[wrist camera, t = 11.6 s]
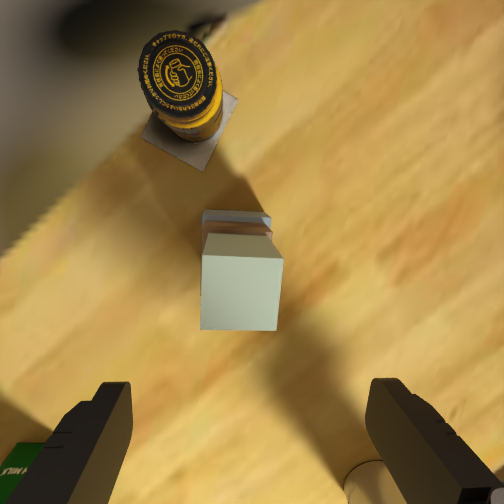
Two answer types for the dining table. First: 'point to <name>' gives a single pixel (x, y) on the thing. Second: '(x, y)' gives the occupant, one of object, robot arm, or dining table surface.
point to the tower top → (233, 230)
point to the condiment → (183, 97)
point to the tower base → (236, 216)
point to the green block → (240, 283)
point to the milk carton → (16, 467)
